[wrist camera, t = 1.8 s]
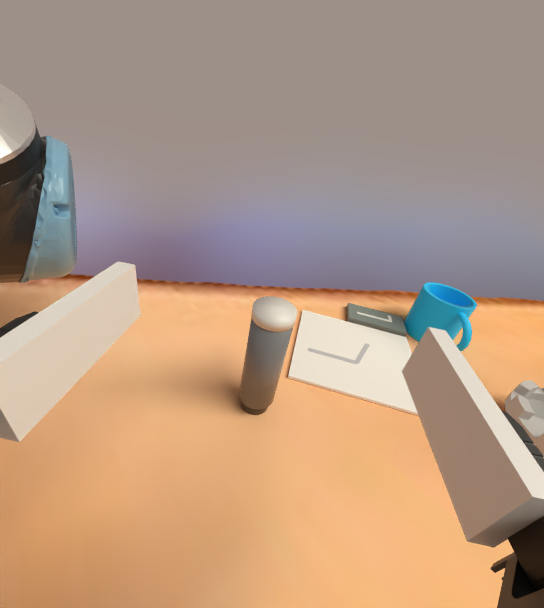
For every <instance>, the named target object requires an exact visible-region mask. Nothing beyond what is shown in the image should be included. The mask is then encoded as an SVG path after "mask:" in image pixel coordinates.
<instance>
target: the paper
mask: <svg viewBox="0 0 544 608" xmlns="http://www.w3.org/2000/svg"><path fill="white" fill-rule="evenodd" d="M411 355H412V353H411V350H410V347H409V344H408V341H407V338H406V337H404V336H400V335H396V334H392V333H389V332H385V331H381V330H377V329H374V328H370V327H366V326H362V325H358V324H355V323H351V322H347V321H343V320H340V319H336V318H332V317H328V316H325V315H321V314H317V313H313V312H309V311H306V310H303V311H302V316H301V320H300V325H299V329H298V334H297V338H296V343H295V347H294V352H293V357H292V361H291V366H290V370H289V375H288V378H290V379H293V380H297V381H300V382H303V383H307V384H310V385H314V386H317V387H321V388H324V389H328V390H331V391H335V392H338V393H342V394H345V395H348V396H352V397H355V398H359V399H362V400H366V401H369V402H373V403H376V404H380V405H383V406H386V407H390V408H393V409H397V410H400V411H404V412H407V413H411V414H414V415H418V412H417V410H416V407H415V404H414V402H413V399H412V397H411V394H410V391H409V389H408V386H407V384H406V381H405V378H404V376H403V373H402V370H403V368H404V367H405V365H406V363H407V362H408V360H409V358H410V357H411ZM418 416H419V415H418Z"/></svg>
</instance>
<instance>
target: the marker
mask: <svg viewBox="0 0 544 608" xmlns="http://www.w3.org/2000/svg"><path fill="white" fill-rule="evenodd" d="M296 316H297V310H296V308H295V306H294V305H293V304H291V303H290V302H288V301H287V300H284V299H282V298H278V297H262V298H259V299H257V300H256V301H255V302H254V304H253V309H252V319H251V325H250V331H249V337H248V343H247V349H246V355H245V361H244V367H243V373H242V380H241V386H240V392H239V396H240V399H241V401H242V402H241V403H242V407H243V409H244V410H245V411H246V412H248V413H249V414H253V415H259V414H262V413H263V412H265V411H266V409H267V407H268V406H269V405H270V404H271V403H272V402H273V399H274V395H275V391H276V388H277V384H278V380H279V377H280V373H281V369H282V366H283V362H284V358H285V355H286V351H287V347H288V344H289V340H290V336H291V333H292V329H293V326H294V324H295V320H296Z"/></svg>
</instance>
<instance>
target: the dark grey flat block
mask: <svg viewBox="0 0 544 608" xmlns="http://www.w3.org/2000/svg"><path fill="white" fill-rule="evenodd" d="M347 322H351V323H355V324H358V325H362V326H366V327H370V328H374V329H377V330H381V331H385V332H389V333H392V334H396V335H400V336H404V337H405V336H406V334H407V331H406V328H405V325H404V322H403V319H402V317H401V316H397V315H393V314H389V313H385V312H381V311H378V310H374V309H370V308H366V307H362V306H358V305H354V304H351V303H348V305H347Z"/></svg>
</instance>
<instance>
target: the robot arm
mask: <svg viewBox="0 0 544 608" xmlns="http://www.w3.org/2000/svg"><path fill="white" fill-rule="evenodd" d="M76 260H77V231H76V210H75V195H74V180H73V169H72V160H71V155H70V152H69V148H68V146H67V145H66V144H65V143H64V142H62V141H60V140H56V139H54V138H52V137H51V136H45V137H40V135H39V133H38V130H37V127H36V124H35V121H34V118H33V116H32V114H31V112H30V110H29V108H28V106H27V105H26V104H25V103H24V101H23V100H21V99H20V98H19V97H18V96H17V95H16V94H15V93H13V92H12V91H11V90H9V89H8V88H6V87H5V86H3V85H2V84H0V283H6V282H20V283H26V282H28V281H29V280H36V279H47V278H57V277H62V276H65V275H67V274H69V273H70V272H71V271H72V270H73V269H74V267H75V264H76ZM139 316H140V306H139V297H138V288H137V279H136V270H135V265H133V264H128V263H123V262H117V263H115V264H113V265H112V266H110V267H109V268H107V269H106V270H104V271H103V272H101V273H100V274H98V275H96V276H95V277H93V278H92V279H90V280H89V281H87V282H86V283H84V284H83V285H81V286H79V287H78V288H76V289H75V290H73V291H72V292H70V293H69V294H67V295H65V296H64V297H62V298H61V299H59V300H58V301H56V302H55V303H53V304H52V305H50V306H48V307H47V308H45V309H44V310H42V311H41V312H32V313H30V314H27V315H24V316H22V317H19V318H16V319H14V320H13V321H11V322H9V323H8V324H6V325H5V326H3V327H1V328H0V438H4V439H8V440H13V441H17V442H20V441H21V440H22V439H23V438H24V437H25V436H26V435H27V434H28V433H29V432H30V430H31V429H32V428H33V427H34V426H35V425H36V424H37V423H38V422H39V421H40V420H41V419H42V418H43V417H44V416H45V415H46V414H47V413H48V412H49V411H50V410H51V409H52V407H53V406H54V405H55V404H56V403H57V402H58V401H59V400H60V399H61V398H62V397H63V396H64V395H65V394H66V393H67V392H68V391H69V390H70V389H71V388H72V387H73V386H74V384H75V383H76V382H77V381H78V380H79V379H80V378H81V377H82V376H83V375H84V374H85V373H86V372H87V371H88V370H89V369H90V368H91V367H92V366H93V365H94V364H95V363H96V361H97V360H98V359H99V358H100V357H101V356H102V355H103V354H104V353H105V352H106V351H107V350H108V349H109V348H110V347H111V346H112V345H113V344H114V343H115V342H116V341H117V339H118V338H119V337H120V336H121V335H122V334H123V333H124V332H125V331H126V330H127V329H128V328H129V327H130V326H131V325H132V324H133V323H134V322H135V321H136V320H137V319H138V318H139ZM402 373H403V376H404V378H405V381H406V384H407V386H408V389H409V391H410V394H411V397H412V399H413V402H414V404H415V407H416V410H417V412H418V415H419V417H420V420H421V423H422V425H423V428H424V430H425V433H426V436H427V438H428V441H429V443H430V446H431V449H432V451H433V454H434V456H435V459H436V462H437V464H438V467H439V470H440V472H441V475H442V477H443V480H444V483H445V485H446V488H447V490H448V493H449V496H450V498H451V501H452V503H453V506H454V509H455V511H456V514H457V516H458V519H459V522H460V524H461V527H462V529H463V532H464V535H465V537H466V540H467V541H468V542H472V543H477V544H481V545H486V546H490V547H495V546H497V545H499V544H500V543H502V542H504V541H505V540H507V539H508V540H509V542H510V544H511V546H512V548H513V550H514V553H512V554H510V555H508V556H506V557H505V558H503V559H501V560H499V561H497V562H496V563H494V564H493V566H492V567H491V570H492V571H493V572H495V573H496V572H497V571H499V570H501V569H503V568H505V573H504V577H502V580H503V582H502V587H501V592H500V597H499V601H498V606H497V608H544V458H543V454H542V453H541V452H540V450H539V449H538V448H537V446H535V445H534V442H533V441H532V439H531V438H530V437H529V435H528V434H527V432H526V431H525V430H524V428H523V427H522V426H521V425H520V424H519V423H518V422H517V421H516V420H515V419H514V418H512V417H511V416H510V415H509V414H508V413H507V412H504V411H501V410H500V408H499V407H498V405H497V404H496V402H495V401H494V400H493V398H492V397H491V395H490V394H489V392H488V391H487V389H486V388H485V387H484V385H483V384H482V382H481V381H480V379H479V378H478V376H477V375H476V374H475V372H474V371H473V369H472V368H471V366H470V365H469V363H468V362H467V361H466V359H465V358H464V356H463V355H462V353H461V352H460V350H459V349H458V348H457V346H456V345H455V343H454V342H453V340H452V339H451V337H450V336H449V335H448V333H447V332H446V330H441V329H436V328H431V327H428V328H427V330H426V332H425V333H424V335H423V337H422V338H421V340H420V342H419V343H418V345H417V347H416V348H415V350H414V352H413V353H412V355H411V357H410V358H409V360H408V362H407V363H406V365H405V367H404V368H403V370H402Z"/></svg>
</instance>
